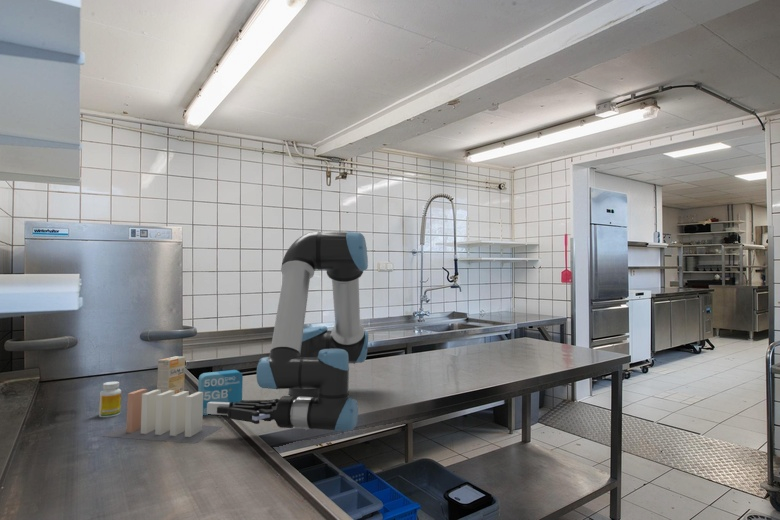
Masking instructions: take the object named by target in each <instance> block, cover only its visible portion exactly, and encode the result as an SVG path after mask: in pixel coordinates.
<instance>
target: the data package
mask: <svg viewBox="0 0 780 520" xmlns="http://www.w3.org/2000/svg"><path fill="white" fill-rule="evenodd" d="M243 377H244V375H243V373H242V372H240V371H239V370H237V369H231V370H220V371H212V372H211V371H209V372H203V373H201V374H200V375H199V377H198V386H197V387H198V390H197V392H203V415H204V416H209V415H208V414H207V403H208V402H229V403H230V402H233V403H234V404H235V402H240V401H241V400H243V382H244V381H243Z"/></svg>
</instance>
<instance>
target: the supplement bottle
mask: <svg viewBox="0 0 780 520" xmlns="http://www.w3.org/2000/svg"><path fill="white" fill-rule="evenodd" d="M119 387H120V382H119V381H107V382H103V383H102V389H103V390H101V391H100V393H99V402H98V403H99V404H98V405H99V406H98V417H99V418H111V417H115V416H119V415H120V414H121V412H122V411H121V409H122V407H121V405H122V389H120V388H119Z"/></svg>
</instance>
